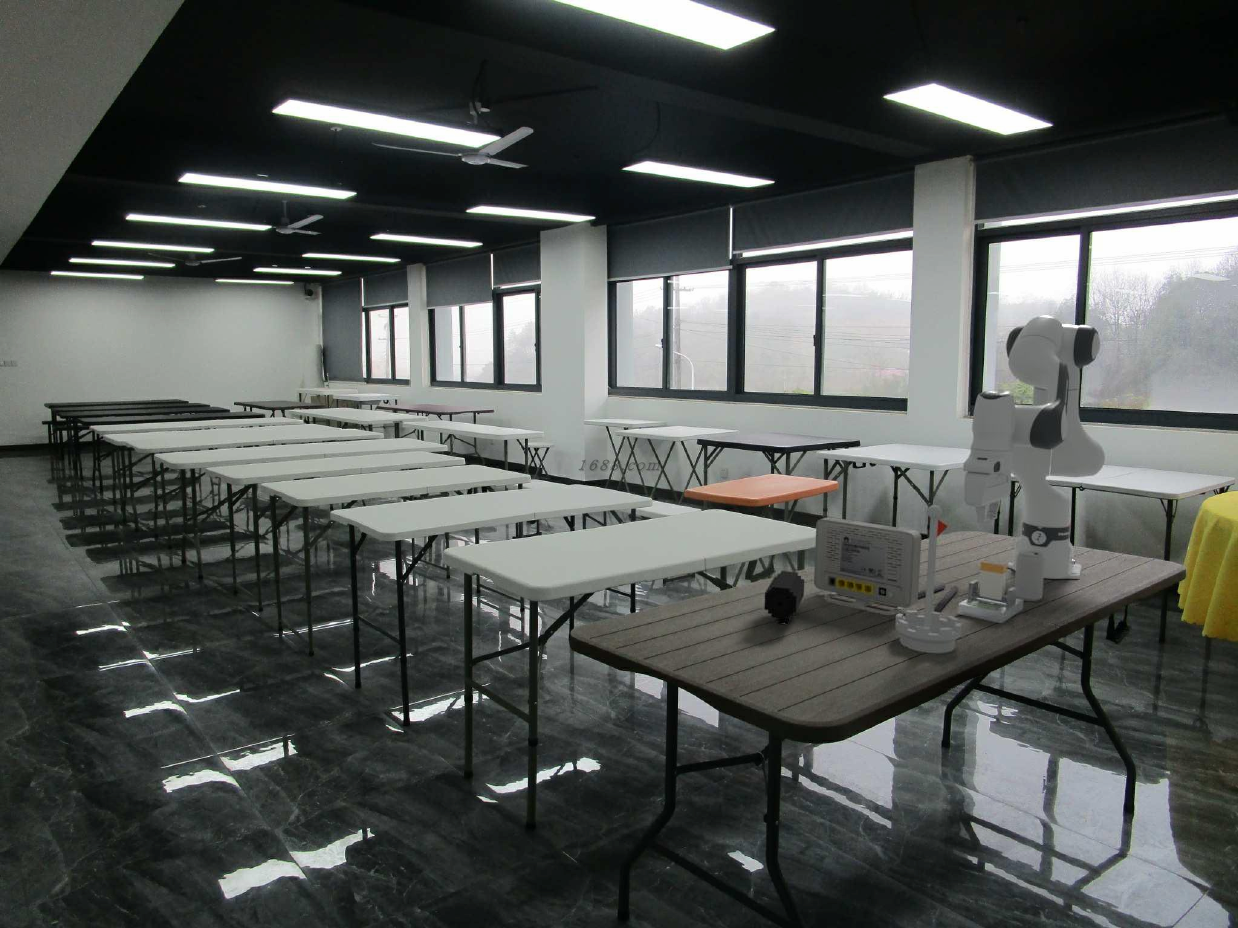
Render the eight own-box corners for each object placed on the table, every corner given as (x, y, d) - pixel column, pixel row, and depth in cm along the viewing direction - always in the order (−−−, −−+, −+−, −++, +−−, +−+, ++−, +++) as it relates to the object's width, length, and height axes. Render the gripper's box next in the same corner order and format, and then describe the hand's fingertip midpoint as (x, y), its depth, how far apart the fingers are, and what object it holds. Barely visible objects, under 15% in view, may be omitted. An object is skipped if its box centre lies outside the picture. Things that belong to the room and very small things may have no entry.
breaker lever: (977, 596, 199) (980, 559, 198) (1008, 602, 194) (1011, 564, 193) (974, 598, 197) (976, 561, 196) (1005, 604, 193) (1008, 566, 191)
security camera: (804, 610, 196) (806, 569, 195) (794, 634, 179) (796, 590, 178) (775, 607, 198) (776, 567, 197) (763, 630, 181) (764, 587, 180)
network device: (921, 611, 196) (925, 529, 193) (905, 619, 190) (910, 535, 187) (825, 590, 213) (828, 515, 211) (807, 597, 207) (811, 519, 204)
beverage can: (1045, 603, 204) (1048, 556, 202) (1017, 601, 205) (1020, 554, 203) (1037, 595, 210) (1041, 550, 208) (1010, 594, 211) (1014, 548, 210)
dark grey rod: (952, 590, 214) (952, 585, 214) (958, 591, 213) (958, 586, 213) (933, 612, 195) (933, 606, 195) (939, 613, 194) (939, 607, 194)
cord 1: (940, 587, 216) (940, 582, 216) (945, 588, 215) (945, 583, 215) (904, 601, 204) (904, 595, 204) (909, 602, 203) (909, 597, 203)
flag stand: (936, 659, 165) (945, 513, 161) (882, 641, 175) (889, 503, 171) (972, 646, 172) (981, 506, 168) (918, 629, 183) (925, 497, 179)
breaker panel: (980, 600, 205) (982, 575, 204) (1022, 609, 198) (1024, 583, 198) (957, 613, 194) (959, 587, 193) (1001, 623, 187) (1003, 595, 187)
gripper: (992, 456, 196) (988, 513, 198) (960, 464, 181) (956, 525, 183) (1020, 459, 192) (1016, 516, 194) (989, 467, 177) (985, 529, 179)
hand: (986, 521), depth 188 cm, fingers open, 5 cm apart
